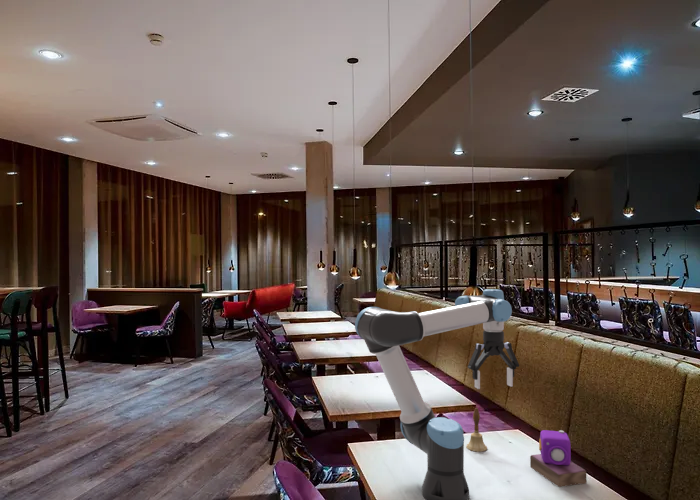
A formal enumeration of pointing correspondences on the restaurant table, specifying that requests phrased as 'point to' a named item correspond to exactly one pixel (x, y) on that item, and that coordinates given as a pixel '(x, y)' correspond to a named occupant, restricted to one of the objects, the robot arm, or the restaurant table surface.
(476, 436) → the hand bell
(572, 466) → the walnut step
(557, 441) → the toy camera
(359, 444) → the restaurant table surface
